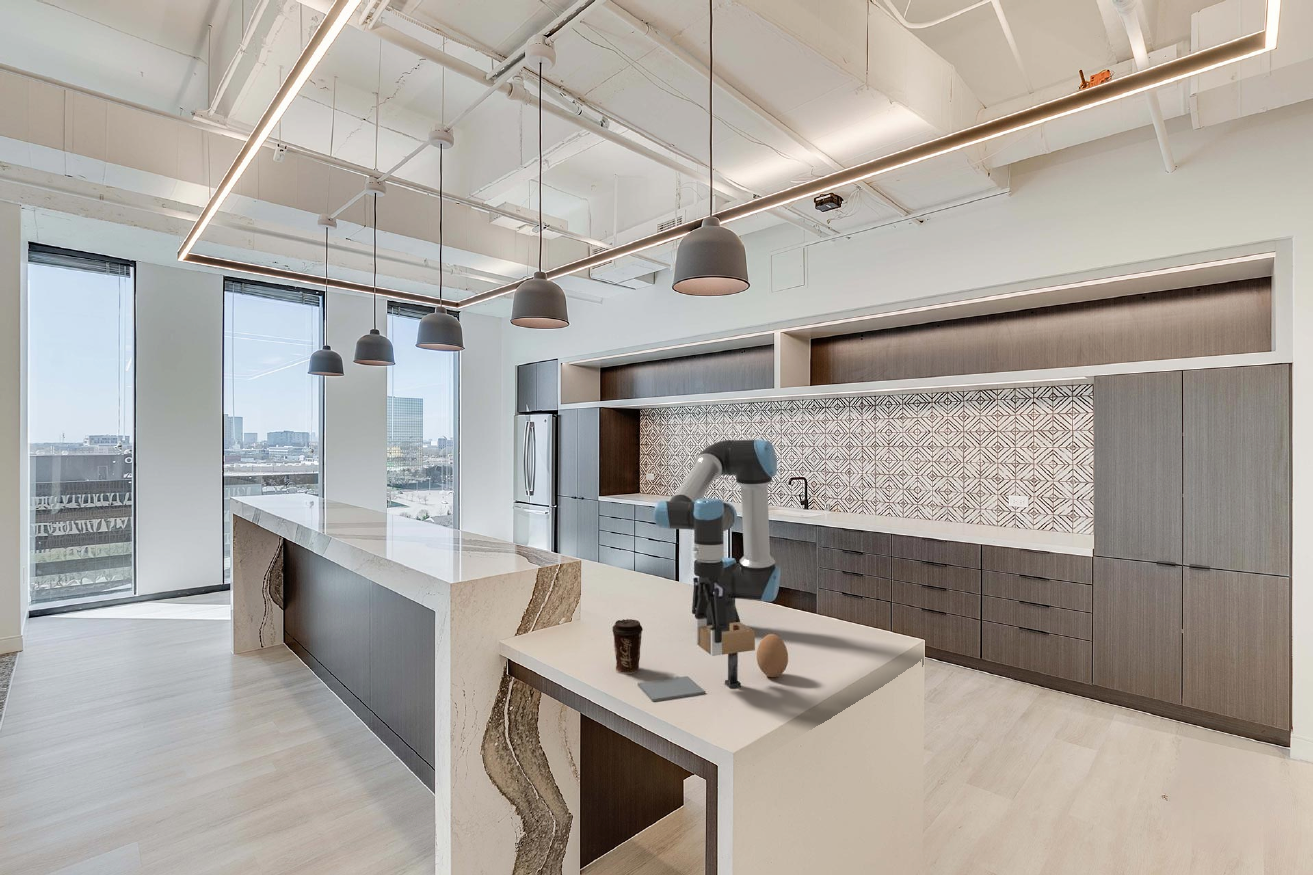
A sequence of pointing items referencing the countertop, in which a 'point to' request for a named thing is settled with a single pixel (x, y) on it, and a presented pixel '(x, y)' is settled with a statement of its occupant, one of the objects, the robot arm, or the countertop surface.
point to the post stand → (732, 671)
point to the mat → (670, 688)
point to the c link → (729, 638)
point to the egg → (772, 655)
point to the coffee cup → (627, 645)
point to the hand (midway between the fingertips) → (708, 649)
